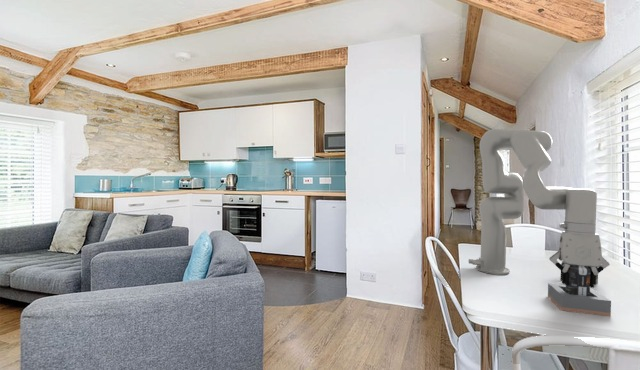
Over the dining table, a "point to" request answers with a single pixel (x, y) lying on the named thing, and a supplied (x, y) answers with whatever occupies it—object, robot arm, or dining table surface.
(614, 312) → the dining table surface
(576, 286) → the pill bottle
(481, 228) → the robot arm
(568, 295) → the grey square frame
